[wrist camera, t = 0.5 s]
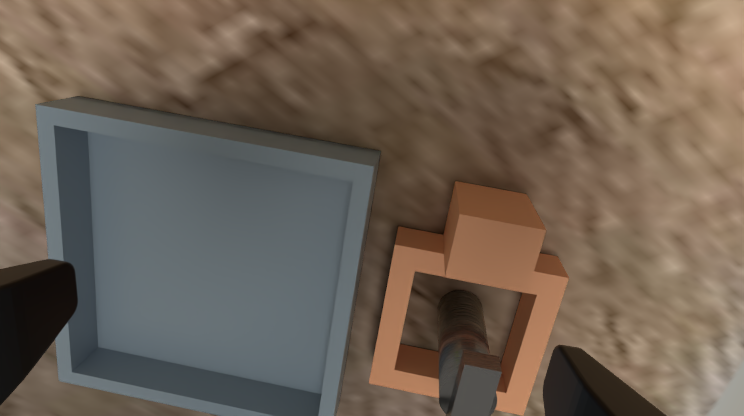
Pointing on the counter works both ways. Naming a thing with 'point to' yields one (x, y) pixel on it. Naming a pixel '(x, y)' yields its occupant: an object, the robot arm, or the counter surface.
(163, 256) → the tray
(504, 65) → the counter surface
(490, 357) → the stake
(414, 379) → the tan rectangular frame
